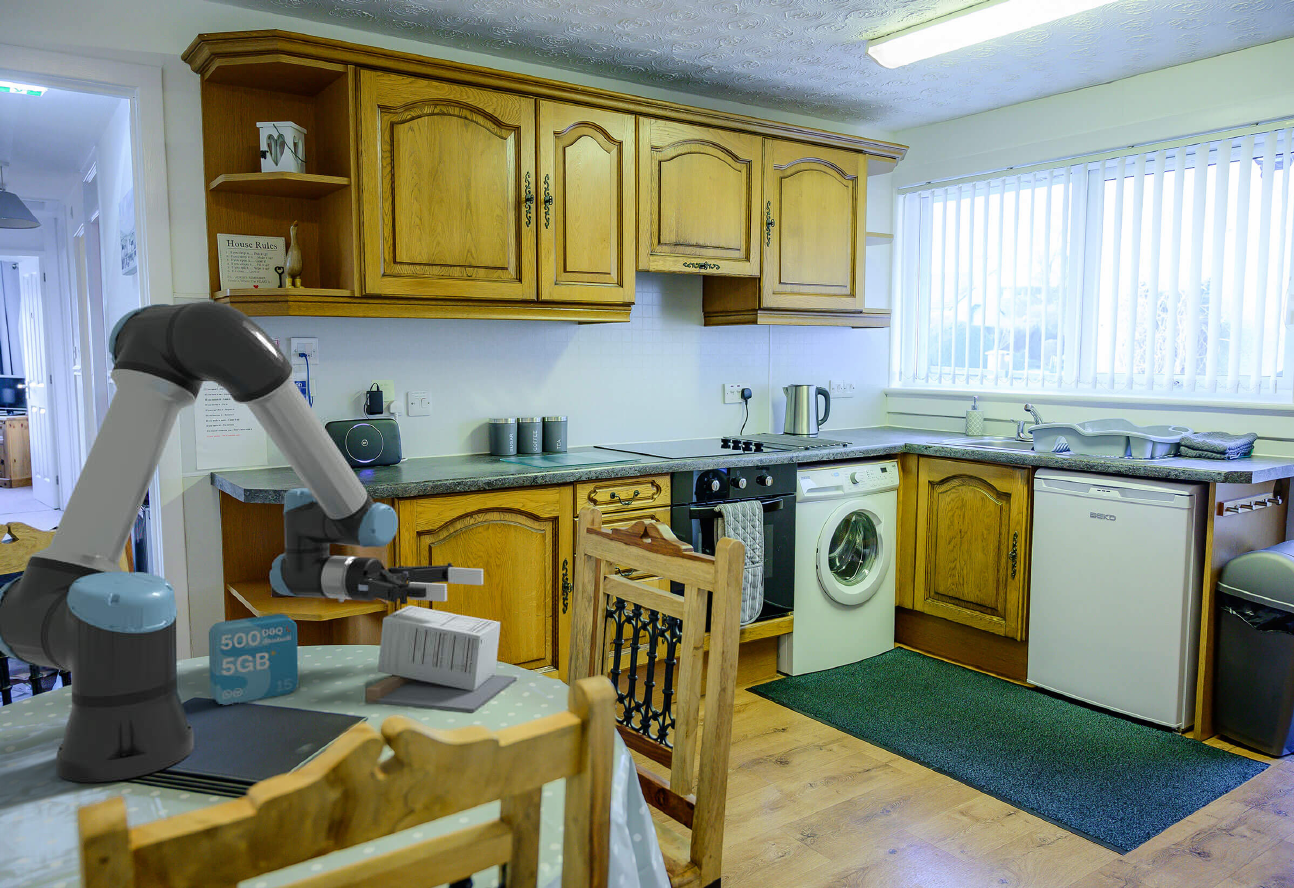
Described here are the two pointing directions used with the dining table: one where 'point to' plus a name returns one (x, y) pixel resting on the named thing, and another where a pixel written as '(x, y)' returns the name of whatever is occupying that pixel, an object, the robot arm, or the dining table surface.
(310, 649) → the dining table surface
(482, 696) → the topple mat
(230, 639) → the data package
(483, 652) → the supplement box
